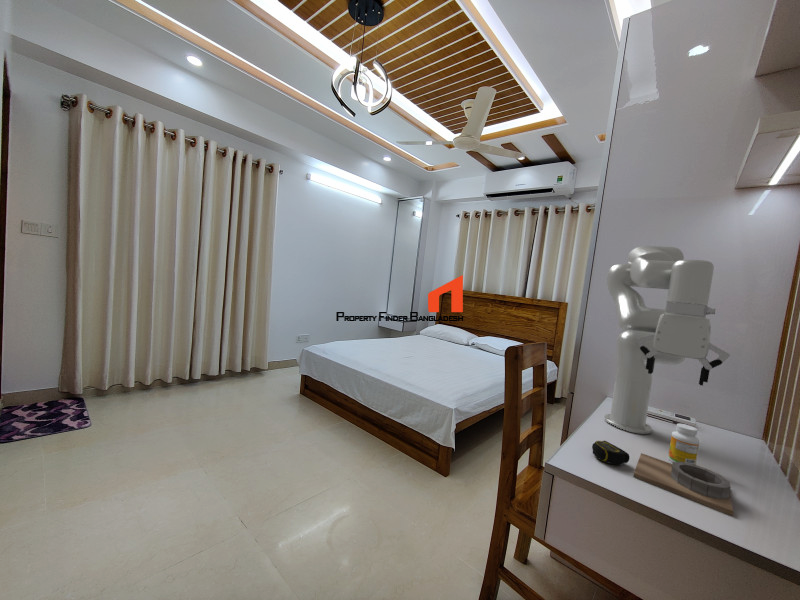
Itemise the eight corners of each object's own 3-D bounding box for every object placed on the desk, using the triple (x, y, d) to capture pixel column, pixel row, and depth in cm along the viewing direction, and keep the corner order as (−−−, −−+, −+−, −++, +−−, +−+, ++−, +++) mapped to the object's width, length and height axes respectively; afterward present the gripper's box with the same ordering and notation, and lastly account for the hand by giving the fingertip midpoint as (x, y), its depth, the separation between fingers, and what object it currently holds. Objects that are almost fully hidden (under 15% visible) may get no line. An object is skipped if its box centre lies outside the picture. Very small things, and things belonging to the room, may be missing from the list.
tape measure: (630, 467, 78) (632, 452, 78) (609, 469, 76) (611, 454, 76) (604, 452, 84) (606, 438, 84) (585, 453, 82) (587, 440, 82)
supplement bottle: (671, 455, 86) (676, 420, 86) (697, 465, 82) (703, 429, 82) (665, 460, 83) (670, 424, 83) (692, 471, 79) (698, 433, 78)
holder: (640, 456, 84) (642, 443, 83) (727, 487, 73) (729, 473, 73) (633, 476, 73) (635, 462, 73) (732, 516, 62) (735, 499, 62)
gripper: (735, 315, 74) (723, 386, 75) (644, 306, 86) (635, 367, 88) (737, 316, 69) (724, 392, 70) (639, 306, 81) (629, 371, 82)
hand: (674, 378), depth 79 cm, fingers open, 9 cm apart
